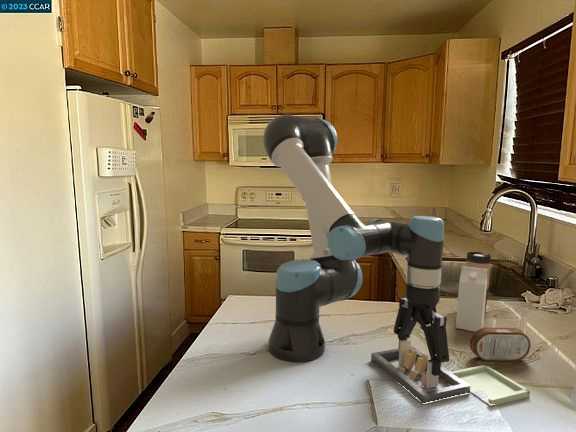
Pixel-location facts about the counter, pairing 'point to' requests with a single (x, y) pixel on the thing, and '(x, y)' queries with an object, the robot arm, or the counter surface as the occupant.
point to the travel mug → (480, 265)
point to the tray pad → (492, 384)
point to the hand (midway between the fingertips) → (417, 375)
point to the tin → (500, 344)
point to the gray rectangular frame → (423, 396)
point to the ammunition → (419, 365)
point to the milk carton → (471, 298)
